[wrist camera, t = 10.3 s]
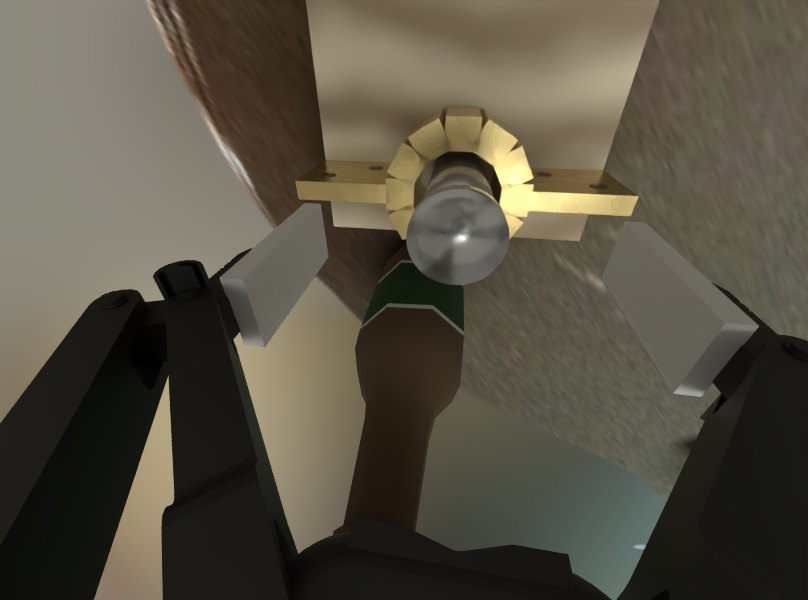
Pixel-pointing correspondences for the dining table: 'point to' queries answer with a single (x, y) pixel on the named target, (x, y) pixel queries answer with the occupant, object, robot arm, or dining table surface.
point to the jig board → (476, 81)
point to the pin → (458, 223)
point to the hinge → (488, 140)
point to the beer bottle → (403, 387)
